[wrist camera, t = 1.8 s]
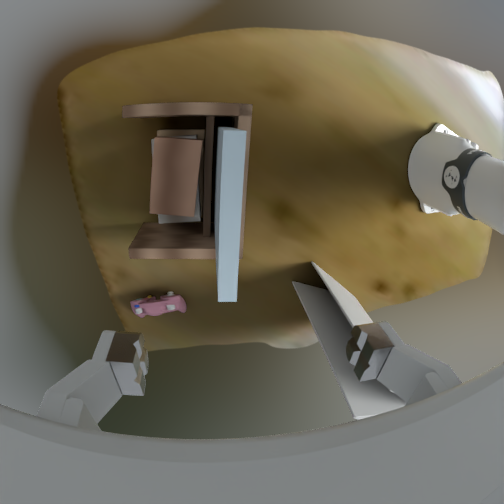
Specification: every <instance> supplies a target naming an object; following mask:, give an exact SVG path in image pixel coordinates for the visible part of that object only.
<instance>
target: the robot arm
mask: <svg viewBox="0 0 504 504" xmlns="http://www.w3.org/2000/svg"><path fill="white" fill-rule="evenodd" d="M443 131H444V133H443ZM478 147H479V146H478V145H477V144H476V143H473V142H471V141H470V140H468V139H465V138H462V137H459V136H458V135H456V134H455V133H454V132H452V131H451V130H450V129H448V128H447V127H446V126H444V125H442V124H439V123H437V124H436V125H435V126H434V127H433V129H432V130H431V132H430V133H428V134H426V135H424V136H423V137H421V138H420V139H419V140H418V141H417V143H416V144H415V146H414V147H413V149H412V152H411V154H410V158H409V163H408V177H409V182H410V186H411V188H412V190H413V192H414V194H415V195H416V196H417V198H418V199H419V201H420V205H421V209H422V211H423V212H425V213H434V212H442V213H444V214H446V215H448V216H452V215H456V214H460V213H461V214H462V215H463V216H465V217H467V218H471V219H473V220H479V221H481V222H483V223H484V224H486V225H488V226H489V227H491V228H493V229H495V230H496V231H498V232H500V233H501V234H504V160H501V159H498V158H494V157H492V156H491V155H490V154H489V153H486V152H485V151H482V150H479V149H478ZM351 334H352V336H353V337H352V338H351V339H350V340H349V341H348V343H347V346H346V355H347V359H348V361H349V363H351V364H353V365H354V366H355V367H354V372H355V374H356V376H357V378H358V380H359V382H361V381H366V380H371V379H376V378H377V380H378V381H379V382H381V383H382V384H383V385H385V386H386V387H387V388H389V389H390V390H391V391H393V392H394V393H395V394H396V395H398V396H399V397H400V398H402V399H403V400H404V401H406V402H407V403H406V405H405V406H404V407H401V408H398V409H395V410H391V411H388V412H385V413H381V414H378V415H375V416H371V417H367V418H364V419H360V420H356V421H352V422H348V423H343V424H339V425H334V426H330V427H324V428H319V429H314V430H308V431H302V432H296V433H288V434H280V435H272V436H263V437H251V438H235V439H205V440H204V439H203V440H202V439H167V438H152V437H141V436H131V435H122V434H116V433H109V432H103V431H101V430H100V428H99V427H98V425H97V423H98V422H99V421H100V420H101V419H102V418H103V417H104V415H105V414H106V413H107V412H108V411H109V410H110V409H111V408H112V407H113V405H114V404H115V403H116V402H117V401H118V400H119V399H120V398H121V396H122V394H123V395H139V396H140V395H141V396H143V395H144V390H145V383H146V381H145V378H144V376H145V374H147V371H148V354H147V349H146V348H144V347H143V346H144V341H145V340H144V336H143V334H142V333H137V332H124V331H109V330H104V331H103V332H102V334H101V337H100V339H99V342H98V344H97V347H96V350H95V352H94V355H93V358H92V360H87V361H86V362H84V363H83V364H82V365H80V366H79V367H78V368H76V369H75V370H74V371H72V372H71V373H70V374H68V375H67V376H66V377H64V378H63V379H62V380H60V381H59V382H58V383H56V384H55V385H53V386H52V387H51V388H49V389H48V390H47V391H46V393H45V395H44V398H43V400H42V403H41V406H40V408H39V411H38V414H37V416H34V415H31V414H27V413H24V412H21V411H18V410H15V409H12V408H10V407H7V406H4V405H1V404H0V504H504V362H502V363H501V364H499V365H497V366H495V367H493V368H491V369H490V370H488V371H486V372H484V373H482V374H481V375H478V376H476V377H474V378H472V379H470V380H468V381H466V382H464V383H462V382H461V381H460V379H459V378H458V377H457V375H456V374H455V373H454V371H453V370H452V369H451V367H450V366H449V365H447V364H445V363H443V362H441V361H440V360H437V359H436V358H434V357H432V356H430V355H428V354H426V353H424V352H422V351H420V350H418V349H416V348H414V347H412V346H411V345H409V344H406V345H405V344H404V342H403V341H402V340H401V338H400V337H399V336H398V334H397V333H396V332H395V331H394V329H393V328H392V327H391V325H390V324H389V323H388V322H386V321H382V322H376V323H369V324H361V325H355V326H354V327H353V328H352V331H351Z"/></svg>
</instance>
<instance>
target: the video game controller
mask: <svg viewBox="0 0 504 504" xmlns="http://www.w3.org/2000/svg"><path fill="white" fill-rule="evenodd" d="M172 293H174V292H172V291H170V292H168V293H167V294H168V295H163V296H160V300H156V297H155V296H153V297H152V296H151V295H149V296H148V297H146V298H143V299H142V298H140V299H136V300H133V301H130V303H131V307H132V310H133V312H134V313H135V314H136V315H138V316H139V317H140V318H143V317H144V316H145V315H151V316H158V315H161V314H163V313H167V312H172V311H176V310H179V311H180V312H182V313H185V312H186V303H185V301H184V299H183V298H182V297H181V296H180V295H179V294H177V295H175V294H172Z"/></svg>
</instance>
